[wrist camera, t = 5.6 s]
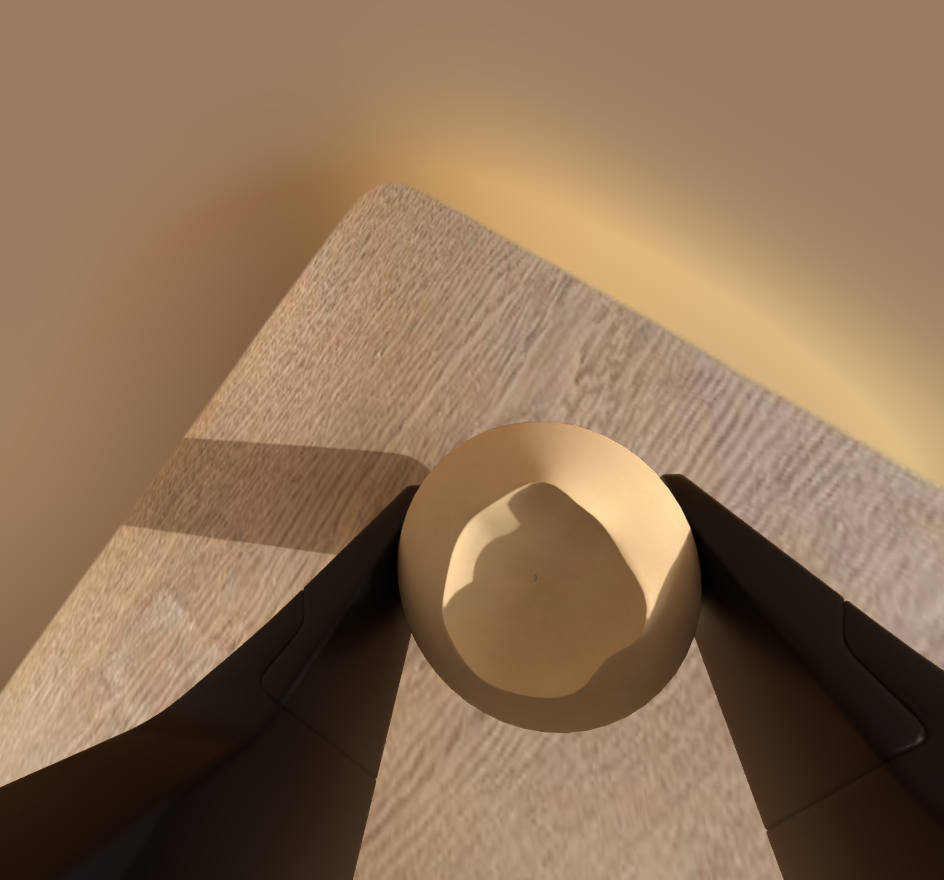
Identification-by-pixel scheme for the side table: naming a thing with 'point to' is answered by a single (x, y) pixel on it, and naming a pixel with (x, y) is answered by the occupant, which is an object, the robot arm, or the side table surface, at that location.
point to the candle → (549, 577)
